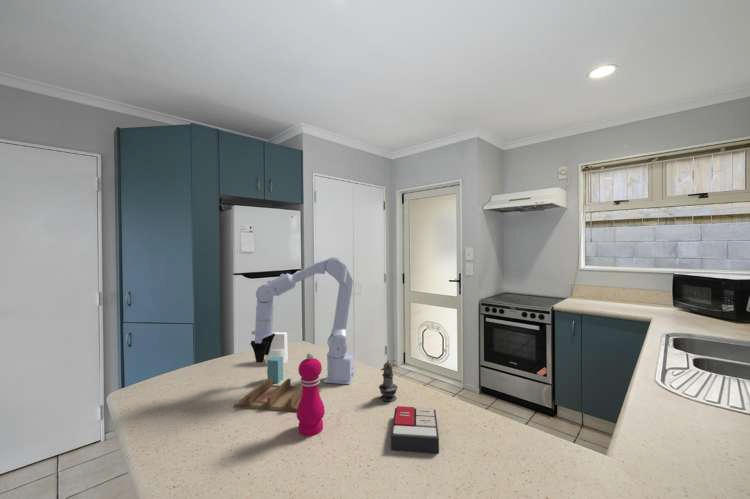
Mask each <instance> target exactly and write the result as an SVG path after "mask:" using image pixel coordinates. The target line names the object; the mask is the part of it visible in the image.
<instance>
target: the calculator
mask: <svg viewBox="0 0 750 499" xmlns="http://www.w3.org/2000/svg"><path fill="white" fill-rule="evenodd" d="M390 432H391V434H390V450H391V451H393V452H407V453H408V452H409V453H419V454H420V453H422V454H435V455H438V454H439V453H440V437H439V428H438V421H437V412H436V409H434V408H433V407H424V406H423V407H421V406H418V407H417V406H416V407H414V406H405V405H404V406H403V405H402V406H401V405H398V406H396V407H395V408H394V414H393V420H392V426H391V431H390Z"/></svg>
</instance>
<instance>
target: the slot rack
mask: <svg viewBox="0 0 750 499" xmlns="http://www.w3.org/2000/svg"><path fill="white" fill-rule="evenodd" d="M291 384H292V383H291V378H287V379H286V380H285V381H283V383H282V384H280V385H278V384H277V385H274V384H273V383H272V378H269V379H268V378H266V380H265V381H264V382H263V383H261V384H260V383H259V384H258V385H256V386H255V387H254V388H253V389H251V391H249V392H248V393H247V394H245V395H243V397H241V399H239V400H238V401H237V402H235V403H234V407H235V408H241V409H242V408H244V409H257V410H268V411H281V412H282V411H283V412H295V413H297V408H298V405H299V402H300V400H301V397H302V390H303V388H302V385H301V384H300V385H299V386H293V385H291ZM318 390H319V393H320V392H321V387H318Z"/></svg>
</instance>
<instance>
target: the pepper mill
mask: <svg viewBox="0 0 750 499" xmlns="http://www.w3.org/2000/svg"><path fill="white" fill-rule="evenodd" d="M322 369H323V368H322V363H321V361H320V360H319V359H317V358H314V353H312V352H307V354H306V358H305V359H303V360H302V361H300V363H299V365H298V375H300V377H301V378H300V386H301V385H302V388H303V390H302V397H301V400H300V402H299V405H298V408H297V412H296V418H297V420H298V421H299V422H298V433H300V434H301V435H303V436H307V437H308V436H309V437H310V436H315V435H318V434H319V433H321V432H322V431H323V429H324V421H323V418H324V416H325V413H326V412H325V410H326V409H325V405H324V401H323V400H322V398H321V395H320V392H319V390H318V388H319V384H320V382H321V376H320V374H321V373H322V371H323V370H322Z"/></svg>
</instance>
